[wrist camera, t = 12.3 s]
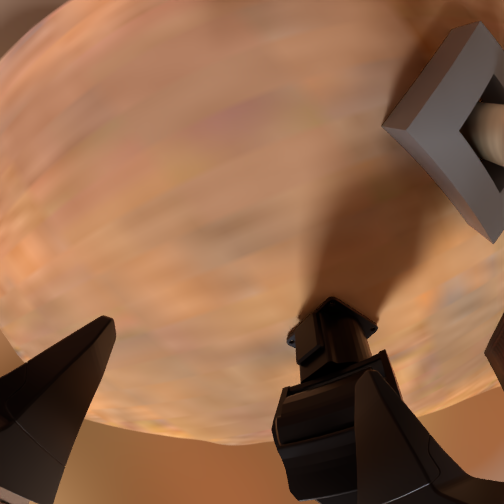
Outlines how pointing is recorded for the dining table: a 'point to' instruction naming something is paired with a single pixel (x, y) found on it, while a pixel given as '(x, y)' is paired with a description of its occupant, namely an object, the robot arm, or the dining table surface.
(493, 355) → the pepper mill
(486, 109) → the peg
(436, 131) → the socket
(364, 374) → the robot arm
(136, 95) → the dining table surface
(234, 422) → the dining table surface
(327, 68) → the dining table surface
